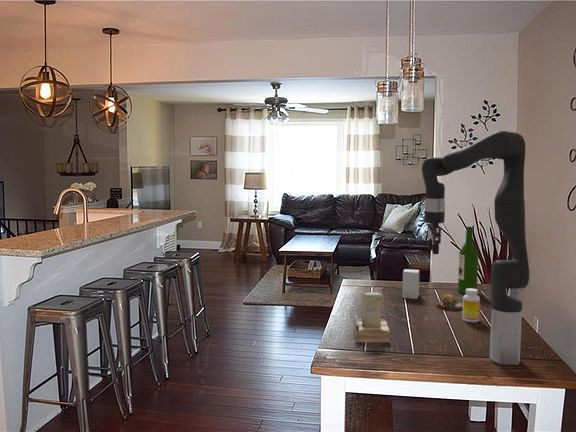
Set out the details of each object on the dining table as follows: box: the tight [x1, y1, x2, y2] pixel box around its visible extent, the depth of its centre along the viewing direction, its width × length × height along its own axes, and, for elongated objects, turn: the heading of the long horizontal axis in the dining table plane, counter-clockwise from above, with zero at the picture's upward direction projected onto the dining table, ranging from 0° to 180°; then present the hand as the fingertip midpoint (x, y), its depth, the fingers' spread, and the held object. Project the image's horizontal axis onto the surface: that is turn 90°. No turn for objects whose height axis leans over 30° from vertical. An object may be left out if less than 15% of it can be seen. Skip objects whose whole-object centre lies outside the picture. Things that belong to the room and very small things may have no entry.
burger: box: [436, 292, 463, 312], centre depth 244 cm, size 12×12×8 cm
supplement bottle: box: [461, 288, 481, 323], centre depth 223 cm, size 7×7×13 cm
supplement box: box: [401, 268, 420, 300], centre depth 262 cm, size 7×7×13 cm
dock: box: [353, 314, 391, 344], centre depth 204 cm, size 14×12×6 cm
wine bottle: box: [457, 226, 479, 295], centre depth 268 cm, size 9×9×32 cm
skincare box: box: [361, 291, 383, 327], centre depth 204 cm, size 6×4×12 cm
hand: (433, 252), depth 210 cm, fingers open, 8 cm apart
